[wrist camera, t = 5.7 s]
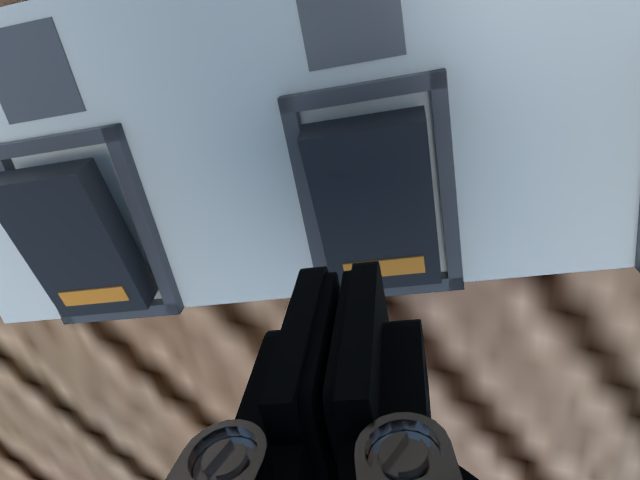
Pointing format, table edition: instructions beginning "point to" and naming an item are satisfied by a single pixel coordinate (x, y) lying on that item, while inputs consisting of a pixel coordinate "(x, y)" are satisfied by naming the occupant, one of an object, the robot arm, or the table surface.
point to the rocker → (75, 238)
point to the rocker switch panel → (320, 105)
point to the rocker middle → (374, 194)
